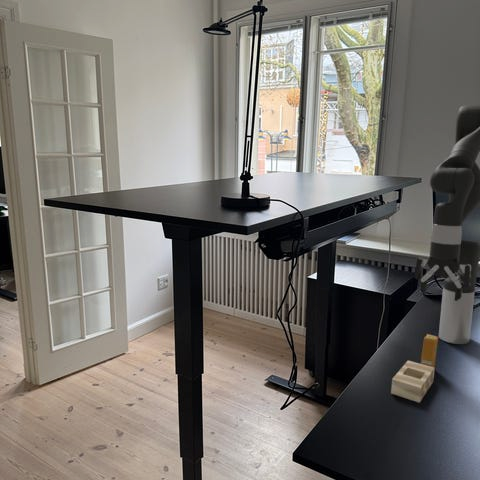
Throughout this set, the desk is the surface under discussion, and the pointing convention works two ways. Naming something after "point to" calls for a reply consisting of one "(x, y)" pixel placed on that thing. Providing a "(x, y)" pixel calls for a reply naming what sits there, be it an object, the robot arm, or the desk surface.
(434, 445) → the desk surface
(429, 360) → the supplement box
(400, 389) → the socket block
